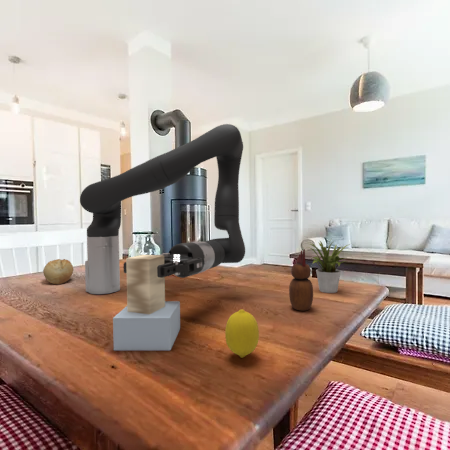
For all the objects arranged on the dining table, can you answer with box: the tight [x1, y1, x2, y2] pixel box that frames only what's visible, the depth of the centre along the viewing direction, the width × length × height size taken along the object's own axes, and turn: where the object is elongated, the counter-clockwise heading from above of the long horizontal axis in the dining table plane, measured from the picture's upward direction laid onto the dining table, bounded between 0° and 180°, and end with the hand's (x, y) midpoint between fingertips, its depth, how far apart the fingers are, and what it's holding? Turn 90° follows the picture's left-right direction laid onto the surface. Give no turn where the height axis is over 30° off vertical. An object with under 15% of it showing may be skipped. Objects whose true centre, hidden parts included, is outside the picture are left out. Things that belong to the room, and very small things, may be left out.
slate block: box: [112, 300, 181, 351], centre depth 58 cm, size 10×10×6 cm
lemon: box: [224, 308, 260, 359], centre depth 50 cm, size 6×6×8 cm
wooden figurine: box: [288, 248, 314, 312], centre depth 75 cm, size 7×6×15 cm
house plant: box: [305, 237, 351, 294], centre depth 92 cm, size 14×14×16 cm
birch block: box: [125, 254, 166, 314], centre depth 57 cm, size 5×5×10 cm
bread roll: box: [42, 258, 74, 285], centre depth 110 cm, size 10×15×8 cm, turn 34°
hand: (141, 269), depth 56 cm, fingers open, 8 cm apart
